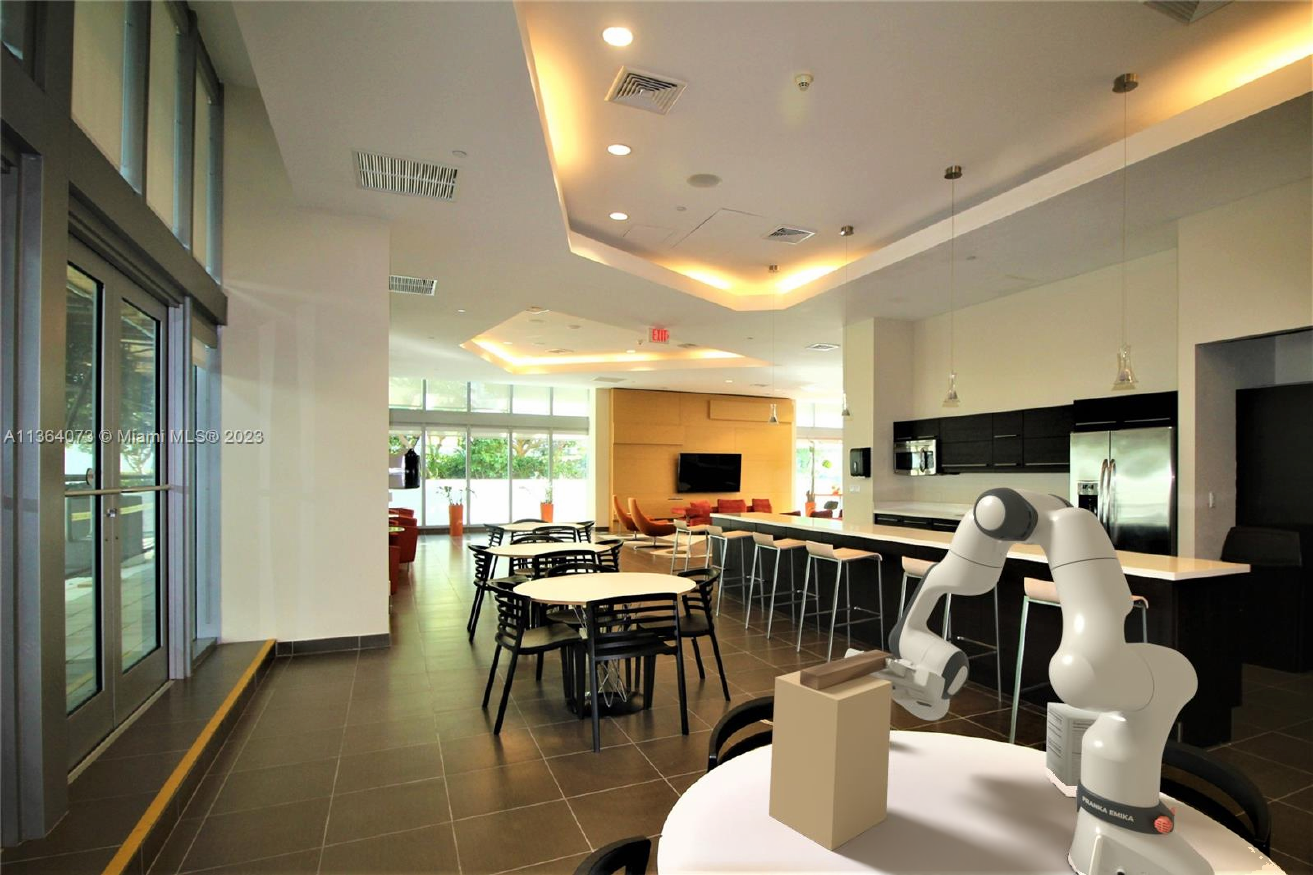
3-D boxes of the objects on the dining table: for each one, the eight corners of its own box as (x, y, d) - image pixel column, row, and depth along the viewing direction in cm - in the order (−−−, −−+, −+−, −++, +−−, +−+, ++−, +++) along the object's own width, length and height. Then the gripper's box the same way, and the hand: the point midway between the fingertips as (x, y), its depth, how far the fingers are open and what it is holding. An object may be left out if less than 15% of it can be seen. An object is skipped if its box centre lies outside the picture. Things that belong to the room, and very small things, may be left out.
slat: (892, 666, 136) (893, 654, 137) (817, 690, 120) (818, 676, 120) (875, 661, 140) (876, 649, 140) (799, 683, 123) (800, 670, 123)
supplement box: (1088, 780, 147) (1091, 704, 147) (1113, 802, 138) (1115, 720, 138) (1043, 776, 148) (1046, 701, 148) (1065, 797, 139) (1067, 716, 139)
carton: (886, 818, 126) (892, 682, 127) (831, 851, 114) (837, 700, 115) (825, 788, 137) (831, 662, 138) (768, 814, 125) (775, 677, 126)
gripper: (865, 655, 152) (836, 632, 145) (952, 681, 137) (925, 656, 129) (856, 681, 150) (827, 659, 142) (944, 710, 134) (916, 687, 127)
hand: (874, 658), depth 136 cm, fingers closed on slat, 4 cm apart
